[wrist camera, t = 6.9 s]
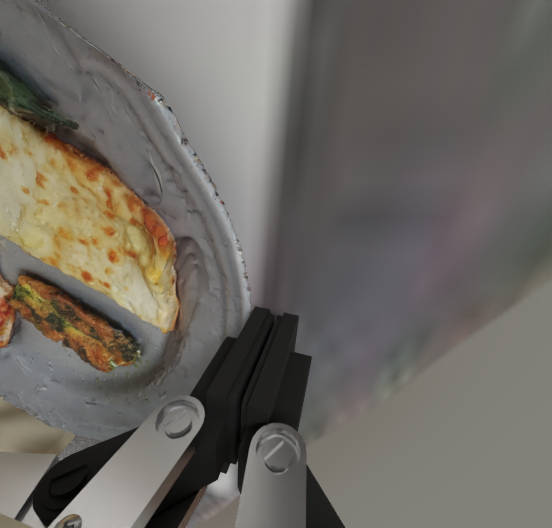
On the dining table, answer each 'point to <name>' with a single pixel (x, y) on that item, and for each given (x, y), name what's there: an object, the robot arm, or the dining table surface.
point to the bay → (29, 433)
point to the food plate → (102, 238)
